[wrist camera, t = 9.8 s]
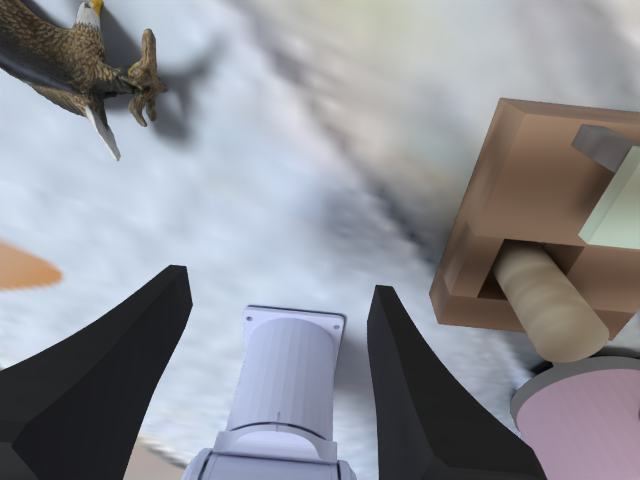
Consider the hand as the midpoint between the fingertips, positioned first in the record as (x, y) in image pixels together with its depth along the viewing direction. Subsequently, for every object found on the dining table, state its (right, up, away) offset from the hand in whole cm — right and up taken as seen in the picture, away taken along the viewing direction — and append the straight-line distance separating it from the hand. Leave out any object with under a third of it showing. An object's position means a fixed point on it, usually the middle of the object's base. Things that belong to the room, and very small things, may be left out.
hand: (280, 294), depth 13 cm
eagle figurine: (-10, +12, +4) cm, 17 cm away
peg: (+14, +2, +10) cm, 17 cm away
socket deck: (+16, +3, +9) cm, 19 cm away
